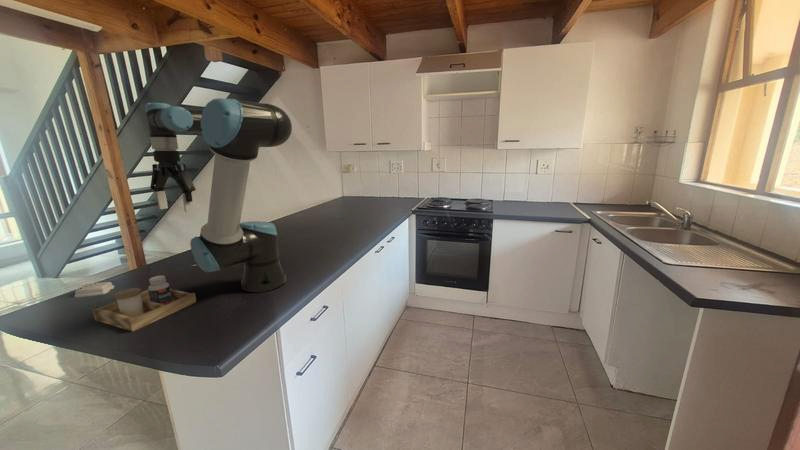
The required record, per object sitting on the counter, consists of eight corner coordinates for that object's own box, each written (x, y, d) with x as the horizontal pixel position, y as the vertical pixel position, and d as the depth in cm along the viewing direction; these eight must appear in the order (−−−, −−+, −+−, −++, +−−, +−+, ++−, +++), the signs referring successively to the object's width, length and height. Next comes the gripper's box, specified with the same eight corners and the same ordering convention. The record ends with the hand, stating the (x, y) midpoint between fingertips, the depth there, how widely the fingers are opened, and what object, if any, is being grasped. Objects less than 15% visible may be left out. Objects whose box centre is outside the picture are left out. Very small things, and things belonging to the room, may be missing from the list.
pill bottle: (161, 309, 95) (156, 282, 93) (147, 307, 96) (141, 280, 94) (176, 301, 100) (171, 275, 98) (162, 300, 101) (157, 274, 99)
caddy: (196, 304, 100) (195, 293, 99) (133, 334, 84) (130, 321, 83) (161, 295, 106) (159, 285, 105) (95, 322, 90) (92, 310, 89)
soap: (72, 298, 105) (70, 290, 105) (85, 290, 112) (83, 282, 111) (105, 295, 108) (103, 287, 107) (116, 287, 114) (114, 279, 114)
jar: (150, 313, 93) (145, 289, 91) (128, 323, 88) (122, 297, 86) (137, 310, 95) (132, 286, 93) (116, 319, 90) (110, 294, 88)
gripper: (201, 149, 109) (210, 210, 114) (153, 150, 118) (163, 206, 123) (179, 149, 102) (190, 213, 107) (131, 150, 111) (142, 209, 116)
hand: (176, 209), depth 115 cm, fingers open, 13 cm apart
